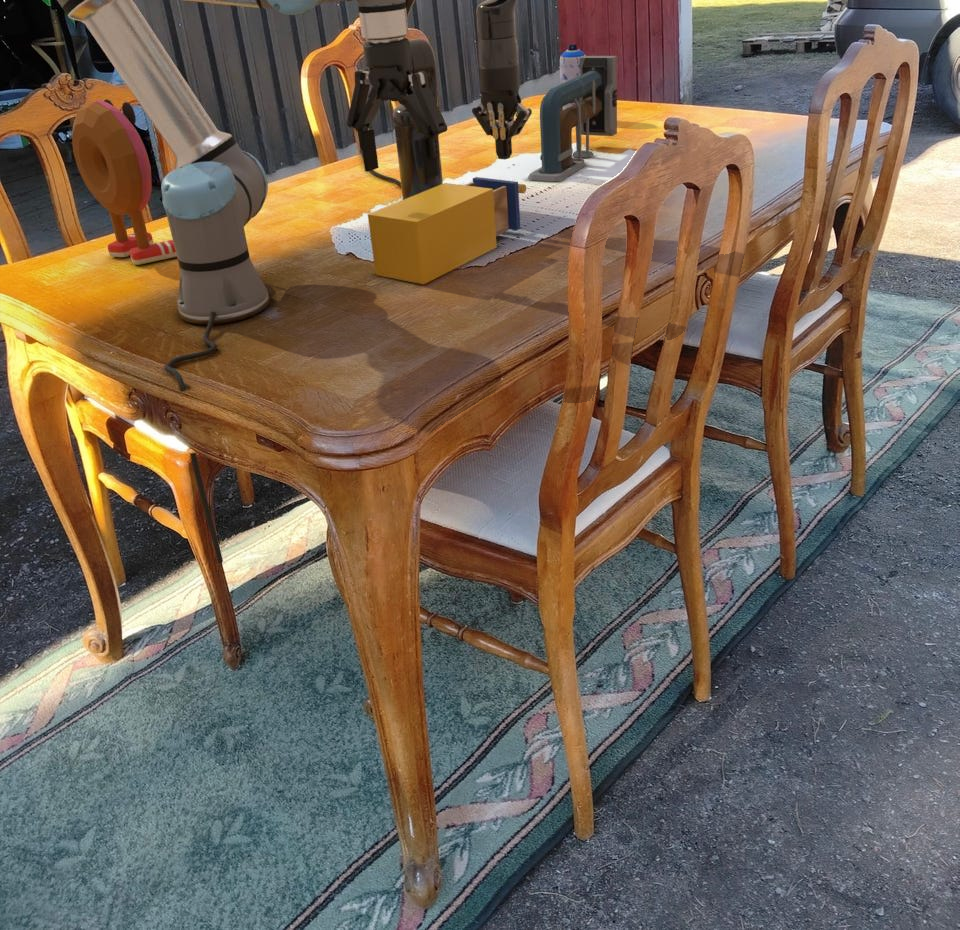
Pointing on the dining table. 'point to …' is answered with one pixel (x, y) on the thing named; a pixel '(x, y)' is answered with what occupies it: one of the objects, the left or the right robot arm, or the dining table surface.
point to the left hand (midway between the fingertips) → (401, 173)
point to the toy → (118, 176)
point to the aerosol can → (570, 66)
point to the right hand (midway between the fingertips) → (504, 158)
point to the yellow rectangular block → (432, 232)
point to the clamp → (577, 117)
